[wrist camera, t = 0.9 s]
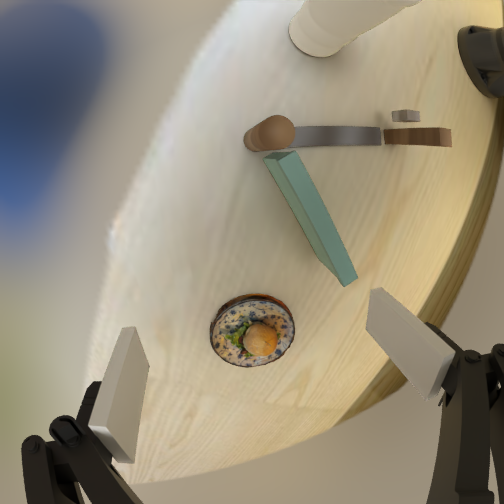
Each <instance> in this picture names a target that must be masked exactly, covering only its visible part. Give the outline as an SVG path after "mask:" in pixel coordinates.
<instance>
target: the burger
mask: <svg viewBox="0 0 504 504" xmlns="http://www.w3.org/2000/svg"><path fill="white" fill-rule="evenodd" d="M217 313H218V314H217V315H218V316H217V317H216V319H215V320H214V323H212V322H211V326H210V328H211V329H210V341H211V345H212V348H213V350H214V351H215V353H216V354H217V355H218V356H220V357H221V358H222V359H223V360H224V361H226V362H228V363H230V364H232V365H236V366H240V367H254V366H260V365H266V364H268V363H270V362H274V361H276V360H277V359H279V358H280V357H282V356H283V355H284V353H285V351H286V350H287V349H288V348H289V347H290V344H291V343H292V342H293V340H294V335H295V327H294V321H293V317H292V314H291V313H290V311H289V309H288V308H287V306H286V305H285V304H283V303H282V301H279V300H276V299H275V298H274V297H272V296H269V295H264V294H248V295H243V296H239V297H237V298H234V299H232V300H230V301H229V302H227V303H225V304H224V305H223V306H222V307H221V309H219V311H218V312H217Z"/></svg>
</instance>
